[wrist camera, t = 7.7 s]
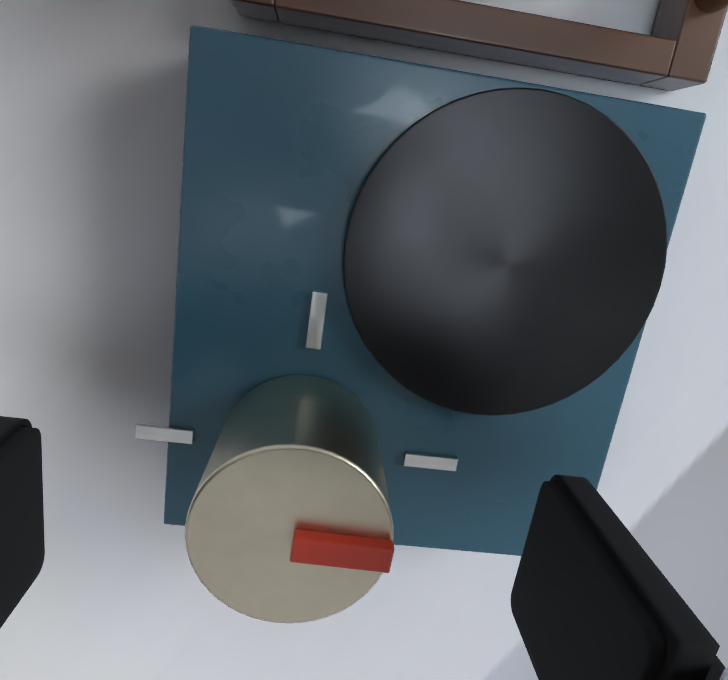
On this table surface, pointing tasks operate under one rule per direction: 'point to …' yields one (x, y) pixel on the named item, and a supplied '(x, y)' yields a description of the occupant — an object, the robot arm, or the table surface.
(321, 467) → the hob knob
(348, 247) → the hotplate
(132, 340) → the table surface
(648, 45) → the dish rack
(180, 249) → the hob
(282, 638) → the table surface
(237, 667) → the table surface
